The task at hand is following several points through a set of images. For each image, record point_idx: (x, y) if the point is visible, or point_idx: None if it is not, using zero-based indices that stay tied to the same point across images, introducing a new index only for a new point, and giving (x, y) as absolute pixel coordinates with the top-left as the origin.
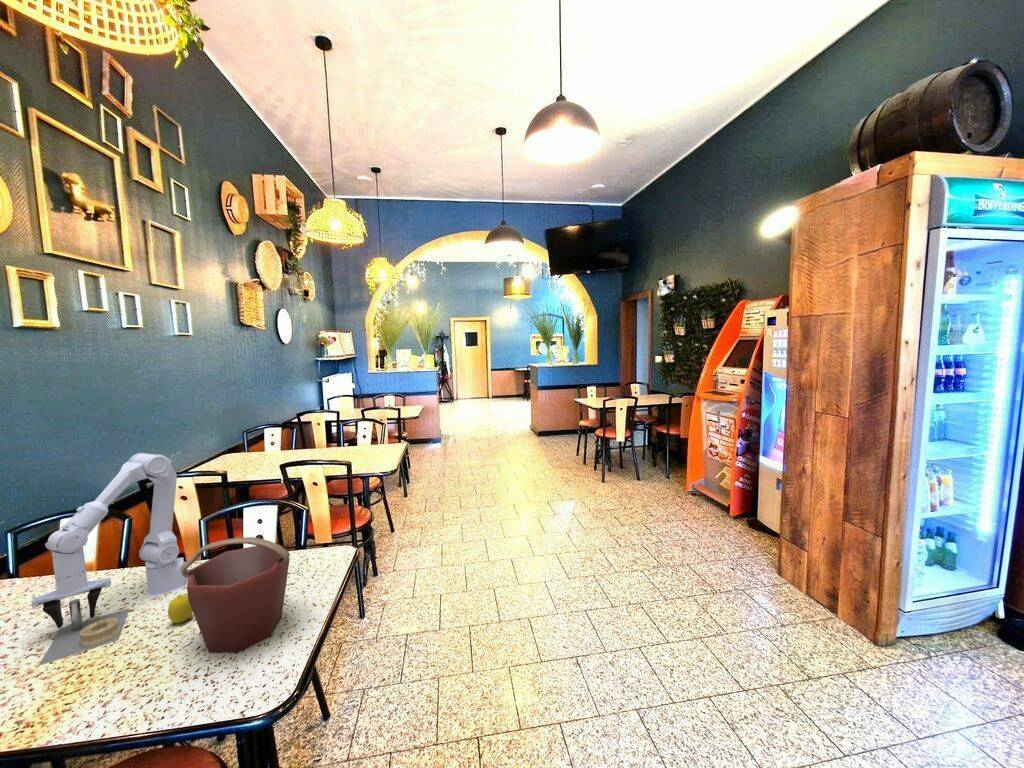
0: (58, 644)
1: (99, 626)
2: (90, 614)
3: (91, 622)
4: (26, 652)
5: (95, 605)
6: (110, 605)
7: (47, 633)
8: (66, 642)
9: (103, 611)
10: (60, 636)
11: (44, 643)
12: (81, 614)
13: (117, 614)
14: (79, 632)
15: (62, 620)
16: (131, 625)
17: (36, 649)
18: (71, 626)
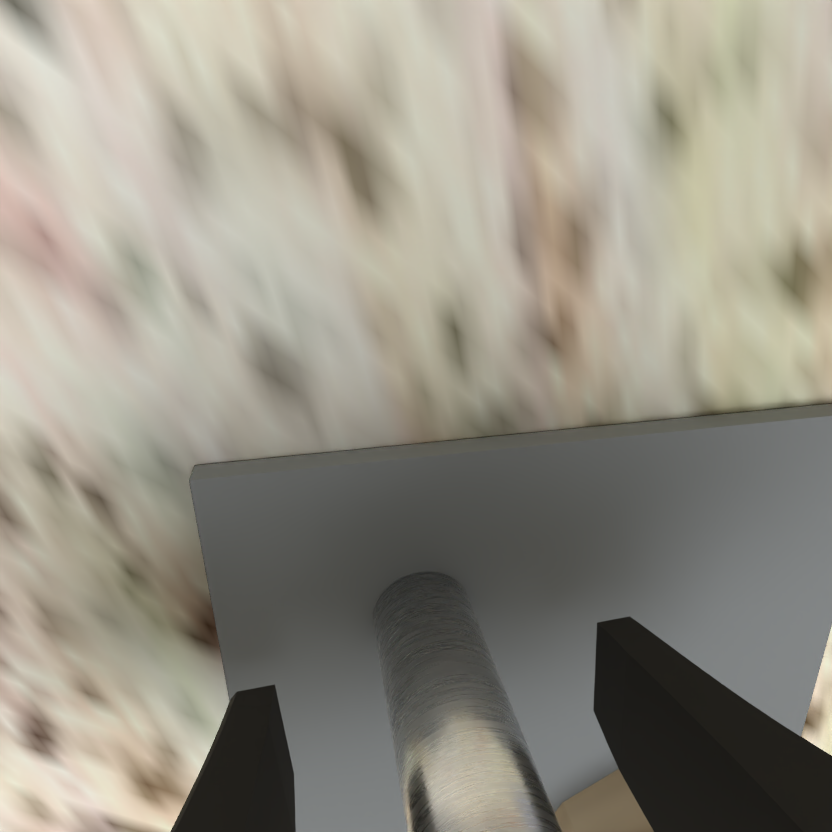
0: (327, 830)
1: None
2: (635, 779)
3: (537, 540)
4: (25, 777)
5: (738, 711)
6: (690, 13)
7: (34, 451)
8: (390, 822)
9: (612, 198)
10: (284, 695)
11: (137, 685)
12: (528, 749)
13: (773, 497)
14: None
15: (275, 753)
16: (828, 724)
17: (110, 764)
18: (326, 509)
